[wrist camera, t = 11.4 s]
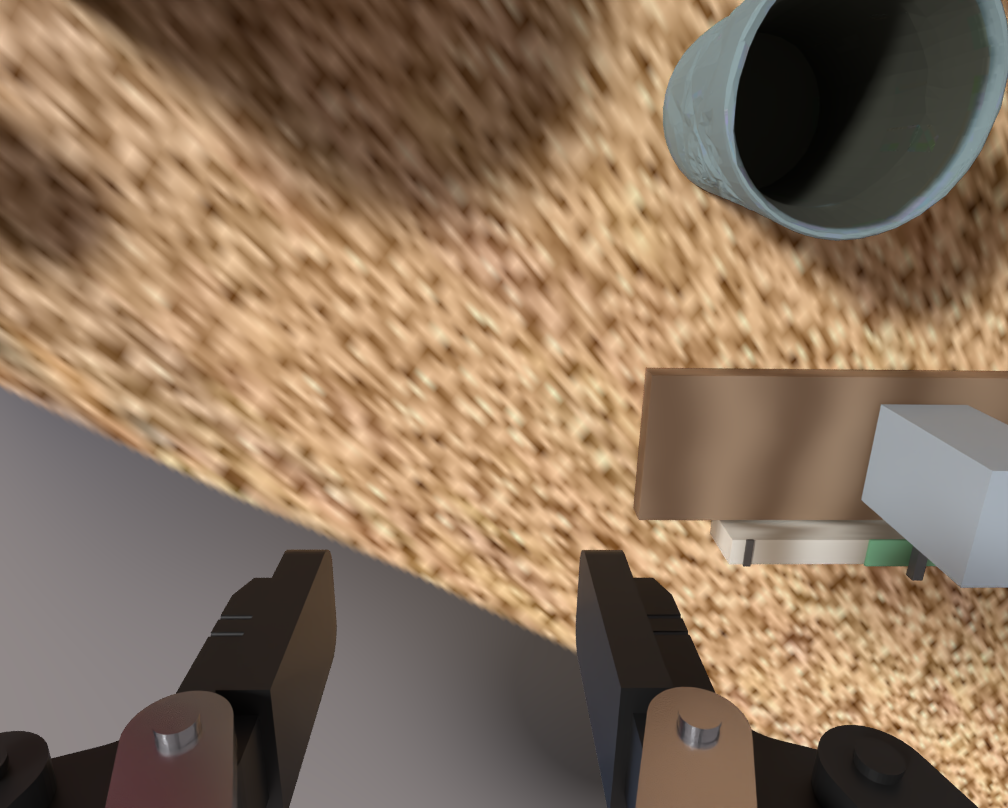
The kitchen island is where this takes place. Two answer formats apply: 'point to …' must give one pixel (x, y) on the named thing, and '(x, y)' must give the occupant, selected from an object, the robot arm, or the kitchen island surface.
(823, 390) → the track
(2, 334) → the kitchen island surface
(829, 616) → the kitchen island surface
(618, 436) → the kitchen island surface
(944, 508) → the block
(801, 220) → the teal gray cup
